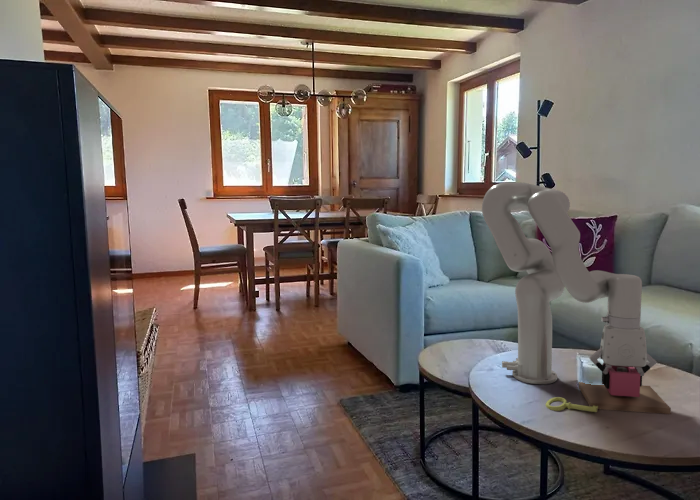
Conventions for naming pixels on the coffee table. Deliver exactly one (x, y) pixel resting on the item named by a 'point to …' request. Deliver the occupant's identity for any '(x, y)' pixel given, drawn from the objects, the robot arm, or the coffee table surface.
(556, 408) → the key
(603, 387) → the bobbin stand
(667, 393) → the coffee table surface
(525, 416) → the coffee table surface
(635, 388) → the sleeve
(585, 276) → the robot arm
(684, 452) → the coffee table surface
